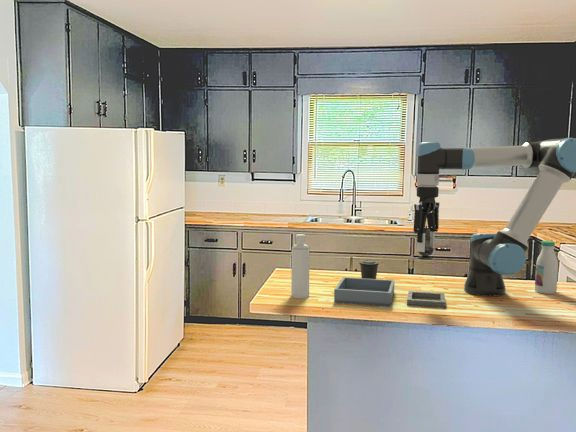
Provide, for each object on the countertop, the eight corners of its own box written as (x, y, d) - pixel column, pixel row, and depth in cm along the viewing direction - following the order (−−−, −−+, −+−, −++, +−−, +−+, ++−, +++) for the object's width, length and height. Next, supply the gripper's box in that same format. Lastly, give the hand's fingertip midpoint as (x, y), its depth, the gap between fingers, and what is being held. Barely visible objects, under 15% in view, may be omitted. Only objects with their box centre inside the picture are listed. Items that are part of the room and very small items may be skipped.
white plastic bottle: (297, 292, 206) (298, 228, 204) (312, 295, 203) (312, 230, 200) (287, 296, 201) (288, 230, 198) (302, 299, 197) (303, 232, 194)
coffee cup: (364, 281, 226) (364, 258, 224) (382, 284, 221) (382, 260, 220) (355, 285, 219) (355, 261, 218) (373, 288, 214) (373, 263, 213)
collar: (444, 298, 199) (444, 293, 198) (445, 308, 186) (445, 302, 186) (408, 296, 202) (408, 290, 202) (407, 305, 189) (407, 299, 189)
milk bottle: (556, 290, 210) (559, 240, 208) (556, 295, 203) (559, 243, 201) (534, 288, 214) (537, 239, 211) (534, 293, 207) (537, 242, 204)
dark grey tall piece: (436, 258, 193) (437, 225, 191) (429, 260, 188) (430, 226, 187) (421, 256, 196) (422, 223, 195) (413, 258, 192) (414, 225, 191)
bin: (394, 292, 207) (394, 280, 206) (390, 306, 187) (390, 292, 187) (342, 289, 212) (343, 277, 211) (334, 302, 192) (334, 289, 192)
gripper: (423, 187, 180) (421, 255, 183) (450, 185, 194) (447, 248, 196) (404, 186, 185) (402, 252, 188) (431, 184, 199) (429, 246, 201)
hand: (425, 250), depth 192 cm, fingers closed on dark grey tall piece, 6 cm apart
